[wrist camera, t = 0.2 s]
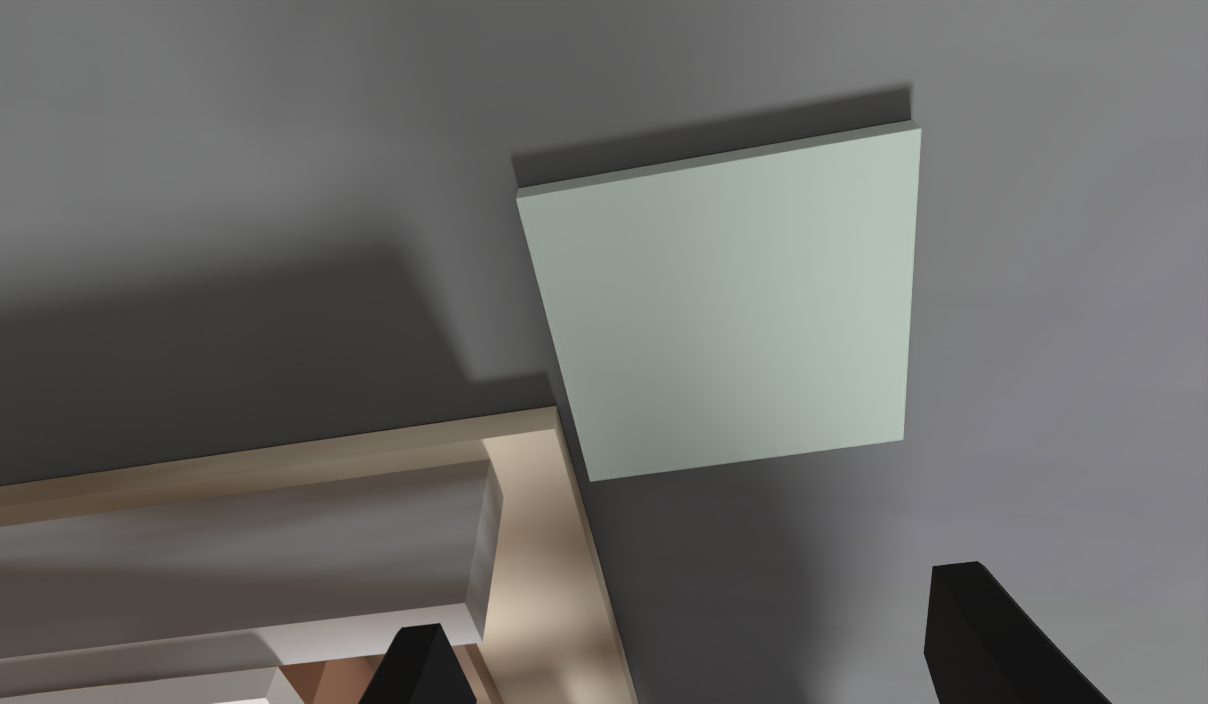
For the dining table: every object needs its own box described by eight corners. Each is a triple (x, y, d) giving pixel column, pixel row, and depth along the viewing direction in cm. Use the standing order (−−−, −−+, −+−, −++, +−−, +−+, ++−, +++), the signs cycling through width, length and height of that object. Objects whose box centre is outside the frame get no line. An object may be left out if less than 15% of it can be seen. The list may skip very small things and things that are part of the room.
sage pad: (896, 426, 22) (903, 439, 21) (590, 467, 23) (590, 481, 22) (911, 120, 17) (921, 128, 16) (518, 188, 18) (516, 198, 17)
